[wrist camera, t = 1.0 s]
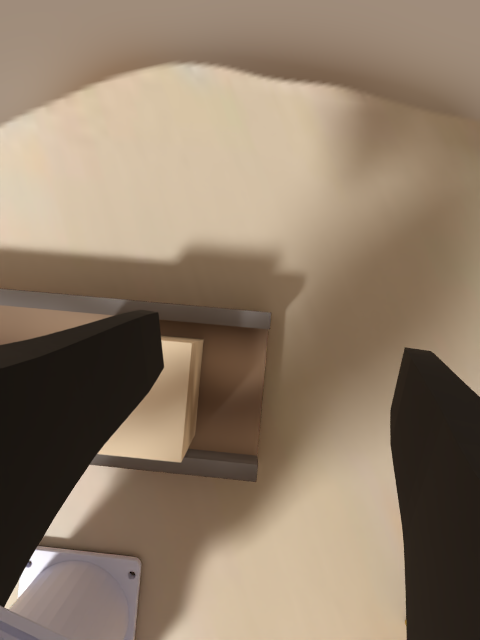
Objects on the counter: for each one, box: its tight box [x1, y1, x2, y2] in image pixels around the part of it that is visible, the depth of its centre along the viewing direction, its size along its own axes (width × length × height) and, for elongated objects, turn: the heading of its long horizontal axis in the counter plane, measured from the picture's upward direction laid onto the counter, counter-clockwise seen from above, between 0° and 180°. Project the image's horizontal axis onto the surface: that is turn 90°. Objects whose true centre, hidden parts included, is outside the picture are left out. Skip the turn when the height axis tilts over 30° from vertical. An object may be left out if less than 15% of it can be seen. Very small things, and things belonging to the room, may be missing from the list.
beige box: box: [97, 335, 204, 463], centre depth 20 cm, size 6×6×4 cm
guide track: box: [0, 289, 271, 482], centre depth 22 cm, size 10×30×4 cm, turn 85°
